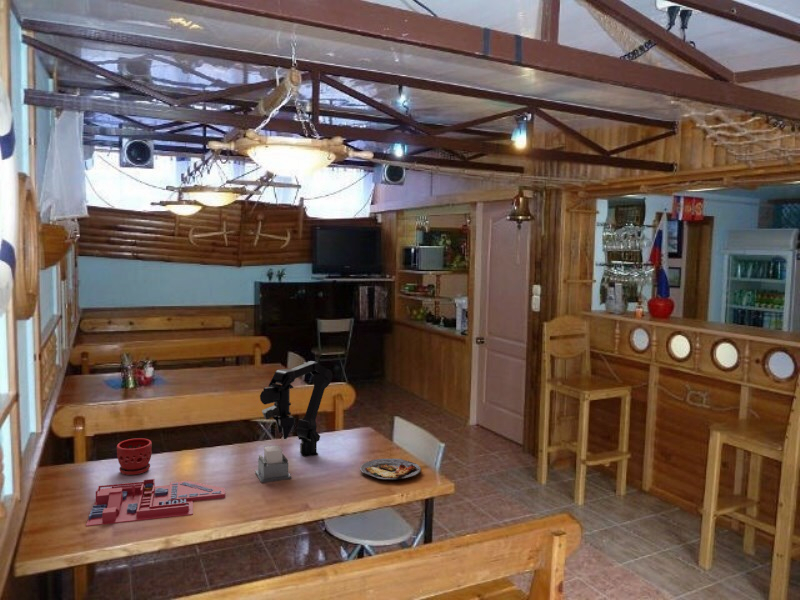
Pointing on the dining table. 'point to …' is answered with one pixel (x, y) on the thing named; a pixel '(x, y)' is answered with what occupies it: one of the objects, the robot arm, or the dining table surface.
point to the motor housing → (272, 470)
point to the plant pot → (134, 456)
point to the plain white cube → (273, 454)
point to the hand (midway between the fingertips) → (282, 435)
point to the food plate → (390, 469)
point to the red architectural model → (148, 501)
